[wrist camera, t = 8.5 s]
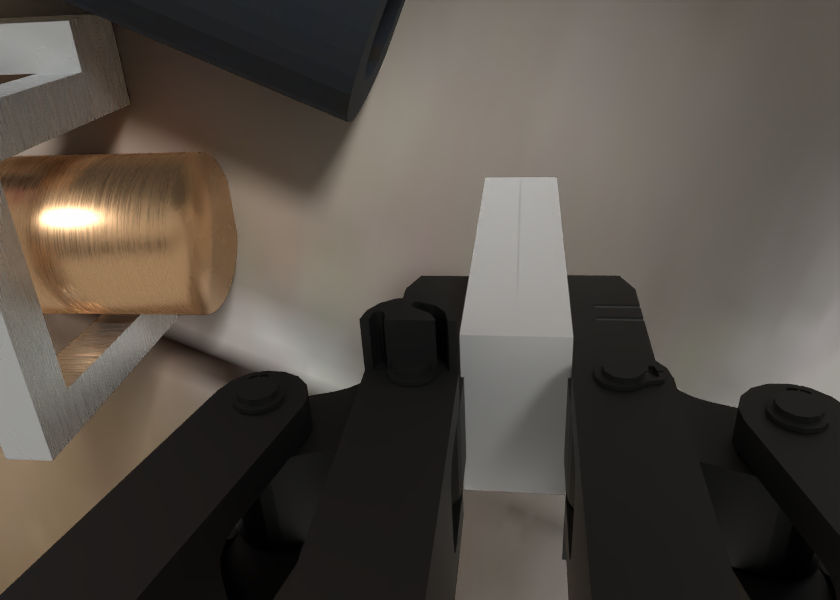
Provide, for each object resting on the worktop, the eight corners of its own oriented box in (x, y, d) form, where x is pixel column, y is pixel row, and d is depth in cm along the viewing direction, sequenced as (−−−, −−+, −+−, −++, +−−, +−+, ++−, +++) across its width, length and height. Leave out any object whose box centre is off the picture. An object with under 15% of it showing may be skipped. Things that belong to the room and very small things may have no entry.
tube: (212, 124, 20) (149, 208, 17) (247, 254, 23) (199, 350, 19) (-172, 134, 22) (-305, 214, 18) (-96, 255, 24) (-199, 345, 21)
